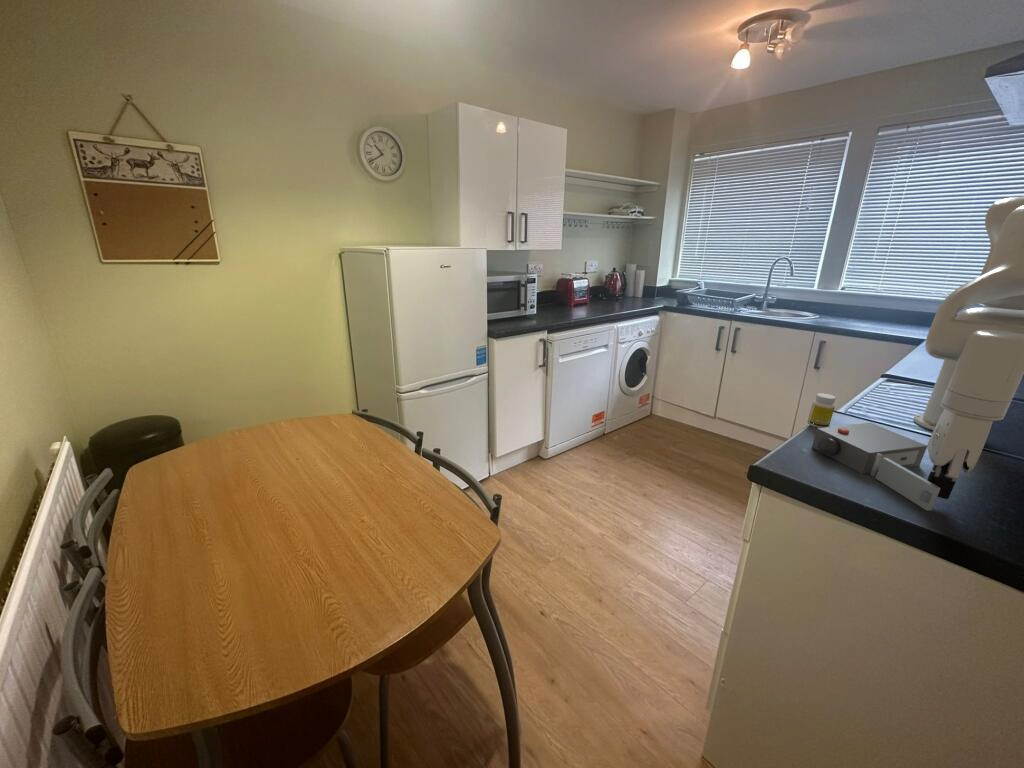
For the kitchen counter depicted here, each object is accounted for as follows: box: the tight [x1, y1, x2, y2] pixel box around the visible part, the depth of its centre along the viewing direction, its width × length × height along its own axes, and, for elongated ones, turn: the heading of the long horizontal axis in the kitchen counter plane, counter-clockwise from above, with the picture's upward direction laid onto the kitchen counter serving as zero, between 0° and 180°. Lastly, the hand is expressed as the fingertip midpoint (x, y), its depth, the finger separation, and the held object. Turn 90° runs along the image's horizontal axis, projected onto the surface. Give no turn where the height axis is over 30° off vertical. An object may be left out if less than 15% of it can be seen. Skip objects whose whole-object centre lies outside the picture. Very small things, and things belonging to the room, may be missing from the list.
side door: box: [875, 458, 941, 512], centre depth 80 cm, size 11×2×5 cm, turn 2°
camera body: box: [811, 422, 928, 477], centre depth 93 cm, size 18×13×6 cm
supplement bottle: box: [807, 392, 836, 429], centre depth 109 cm, size 5×5×8 cm
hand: (935, 494), depth 77 cm, fingers closed
